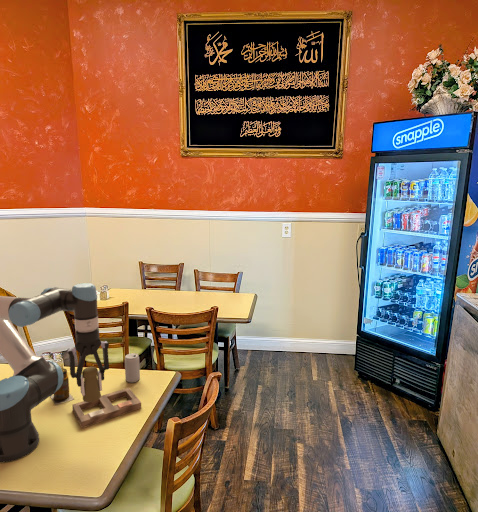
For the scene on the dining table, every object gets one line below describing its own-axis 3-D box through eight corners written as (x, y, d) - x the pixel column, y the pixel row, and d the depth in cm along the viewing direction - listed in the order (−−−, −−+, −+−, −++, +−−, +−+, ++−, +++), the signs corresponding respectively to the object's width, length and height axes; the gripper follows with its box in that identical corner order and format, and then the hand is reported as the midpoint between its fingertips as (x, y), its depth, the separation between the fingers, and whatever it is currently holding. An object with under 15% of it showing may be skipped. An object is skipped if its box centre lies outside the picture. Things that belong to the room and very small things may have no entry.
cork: (94, 403, 133) (92, 373, 131) (79, 400, 134) (76, 371, 132) (104, 394, 139) (102, 365, 137) (89, 391, 140) (87, 363, 138)
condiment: (68, 391, 168) (66, 365, 166) (74, 399, 162) (72, 372, 159) (50, 396, 163) (47, 370, 161) (55, 405, 157) (53, 378, 155)
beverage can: (137, 383, 175) (136, 358, 173) (123, 383, 175) (122, 358, 173) (141, 376, 181) (140, 352, 179) (128, 376, 181) (127, 352, 179)
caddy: (81, 428, 143) (81, 420, 142) (72, 410, 154) (72, 403, 153) (141, 407, 156) (141, 401, 155) (128, 392, 167) (128, 386, 167)
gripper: (60, 337, 124) (65, 404, 128) (117, 326, 134) (120, 388, 138) (56, 330, 130) (61, 394, 134) (111, 320, 140) (114, 380, 144)
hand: (91, 391), depth 136 cm, fingers closed on cork, 5 cm apart
